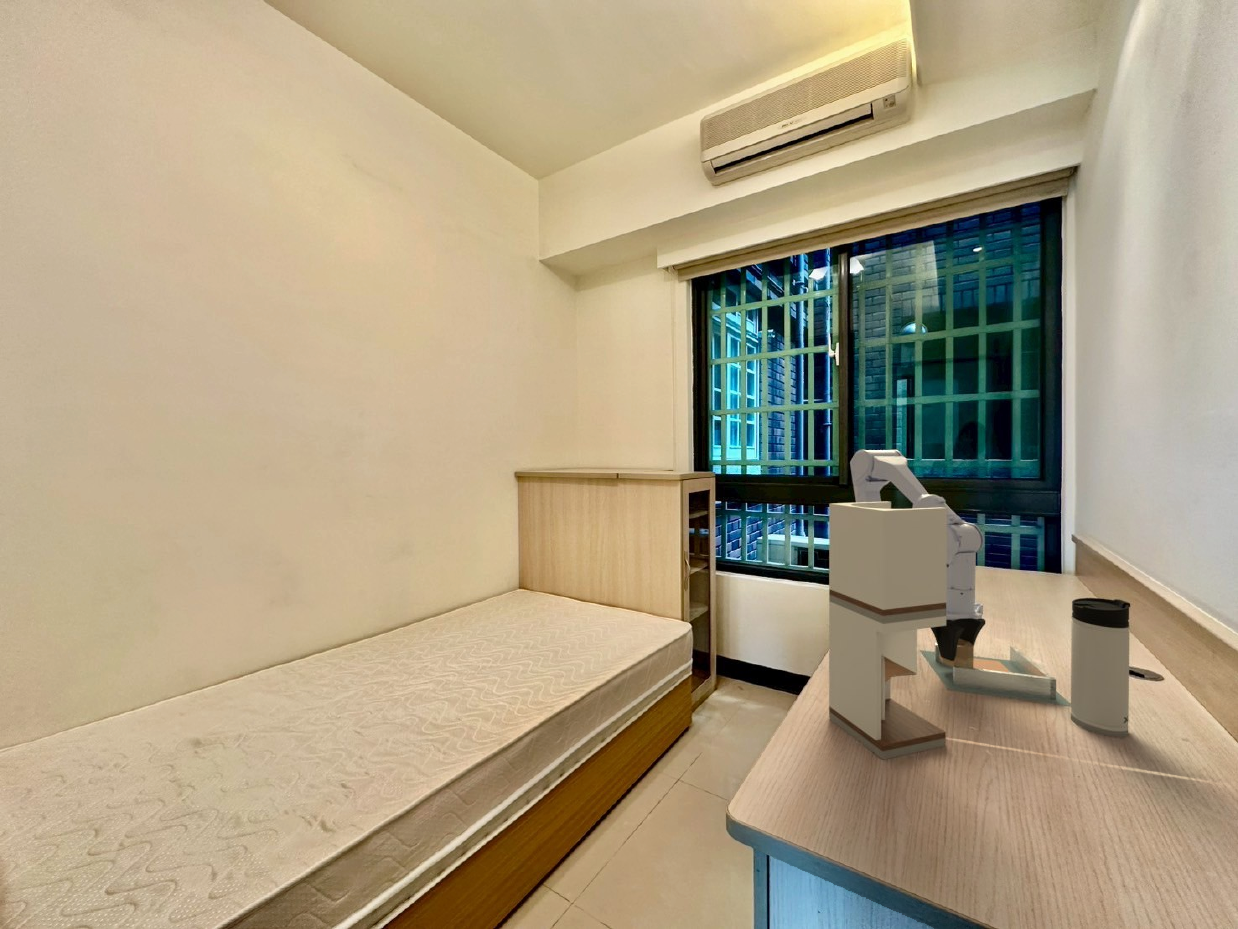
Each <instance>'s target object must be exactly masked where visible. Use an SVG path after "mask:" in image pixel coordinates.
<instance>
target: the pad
mask: <svg viewBox="0 0 1238 929" xmlns="http://www.w3.org/2000/svg"><path fill="white" fill-rule="evenodd" d="M972 668H977V669H986V670H994V671H1002V672H1010V671H1009V670H1008V669H1007V668H1006V667H1005V666H1004V665H1003V664H1002V663H1001V662H999V661H992V660H984V659H975V658H974V660H973V667H972ZM1010 673H1011V672H1010Z"/></svg>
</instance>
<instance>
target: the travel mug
mask: <svg viewBox="0 0 1238 929" xmlns="http://www.w3.org/2000/svg"><path fill="white" fill-rule="evenodd" d="M1071 604H1072V605H1071V611H1072V613H1071V625H1070V626H1071V628H1070V629H1071V631H1070V632H1071V636H1070V637H1071V638H1070V640H1071V641H1070V642H1071V644H1070V646H1071V648H1070V658H1071V659H1070V660H1071V661H1070V703H1071V706H1070V720H1071V721H1072V722H1073V723H1074V724H1076V725H1077V726H1079V727H1080V728H1082V729H1085V730H1087V731H1089V732H1093V733H1094V734H1098V735H1102V736H1106V737H1110V738H1119V739H1120V738H1126V737H1128V736H1129V722H1130V720H1129V718H1130V717H1129V710H1130V707H1129V706H1130V705H1129V703H1130V702H1129V700H1130V699H1129V698H1130V696H1129V695H1130V627H1131V626H1130V622H1129V620H1130V608H1131V603H1130V602H1128V601H1125V600H1122V599H1119V598H1118V599H1108V598H1099V597H1098V598H1097V597H1081V598H1076V599H1073V600H1072V602H1071Z"/></svg>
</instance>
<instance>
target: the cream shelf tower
mask: <svg viewBox="0 0 1238 929" xmlns="http://www.w3.org/2000/svg"><path fill="white" fill-rule="evenodd" d="M828 511H829V513H828V514H829V515H828V518H829V520H828V522H829V527H828V528H829V530H828V531H829V532H828V533H829V534H828V538H829V539H828V542H829V543H828V548H829V549H828V550H829V556H828V559H829V564H828V565H829V568H828V570H829V571H828V572H829V573H828V574H829V575H828V576H829V577H828V578H829V579H828V580H829V581H828V582H829V583H828V585H829V586H828V588H829V589H828V593H829V594H828V595H829V598H828V601H829V602H828V603H829V604H828V606H829V607H828V608H829V610H828V611H829V612H828V613H829V614H828V615H829V616H828V621H829V622H828V623H829V625H828V628H829V631H828V632H829V635H828V651H829V653H828V657H829V658H828V660H829V662H828V665H829V666H828V668H829V669H828V672H829V673H828V674H829V675H828V676H829V677H828V680H829V681H828V691H829V692H828V706H829V707H828V719H829V718H830V719H831V720H830V719H829V720H830V721H831V722H833V721H834V722H835V723H834V722H833V723H834V724H836V726H838V727H839V726H840V729H842V730H843V729H844V730H843V731H844V732H846V731H847V732H848V733H847V732H846V733H847V734H849V735H850V736H851V737H852V736H853V738H854V739H855V740H857V742H859V741H860V742H861V743H862V744H861V743H860V742H859V743H860V744H861V745H863V746H864V747H865V746H866V749H867V750H870V751H871V752H872V753H873V752H874V753H875V754H874V753H873V754H874V755H876V756H877V757H879V758H880V759H881V760H883V759H884V760H888V759H891V758H897V757H901V756H905V755H906V756H907V755H910V754H915V753H919V752H924V751H928V750H929V751H930V750H933V749H937V748H943V747H946V744H947V743H946V740H947V739H946V738H947V734H946V733H947V732H946V731H944V730H943V729H942V728H940V727H938V726H937V725H935V724H933V723H932V722H930V721H928V720H927V719H925V718H923V717H922V716H920V715H918V714H917V713H915V712H913V711H912V710H910V709H908V708H907V707H905V706H904V705H902V704H900V703H898V702H897V701H896V700H894V699H892V698H891V679H892V678H895V677H905V676H916V675H918V670H917V669H918V630H921V629H923V630H924V629H931V627H939V626H946V570H947V508H942V507H938V508H915V509H912V508H892V501H887V500H886V501H881V502H859V503H856V502H837V503H835V502H834V503H829V509H828Z"/></svg>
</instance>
